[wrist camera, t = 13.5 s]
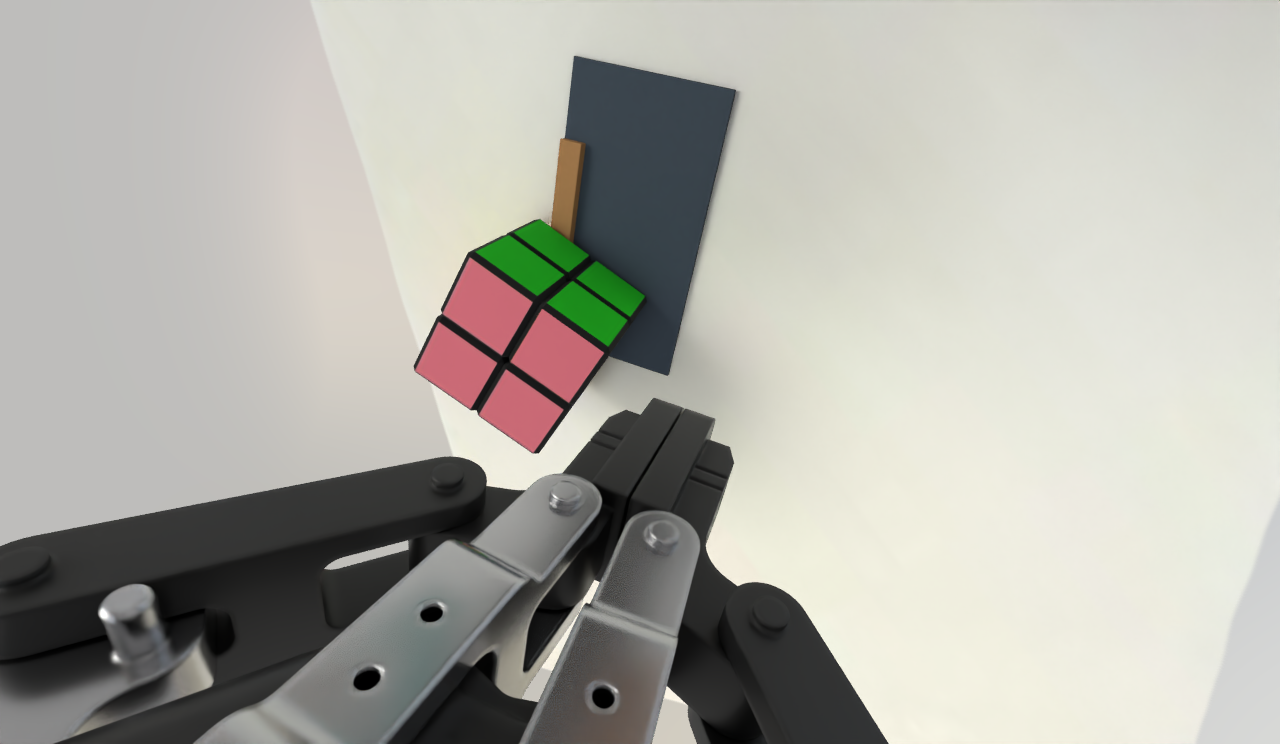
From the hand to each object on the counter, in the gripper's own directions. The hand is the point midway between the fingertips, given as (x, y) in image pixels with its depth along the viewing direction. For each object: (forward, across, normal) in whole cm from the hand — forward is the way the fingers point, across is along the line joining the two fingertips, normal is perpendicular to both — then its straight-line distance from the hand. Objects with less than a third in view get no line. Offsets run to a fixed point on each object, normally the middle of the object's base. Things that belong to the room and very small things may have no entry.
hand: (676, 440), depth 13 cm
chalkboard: (+27, +11, +3) cm, 29 cm away
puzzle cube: (+20, +19, +8) cm, 29 cm away
